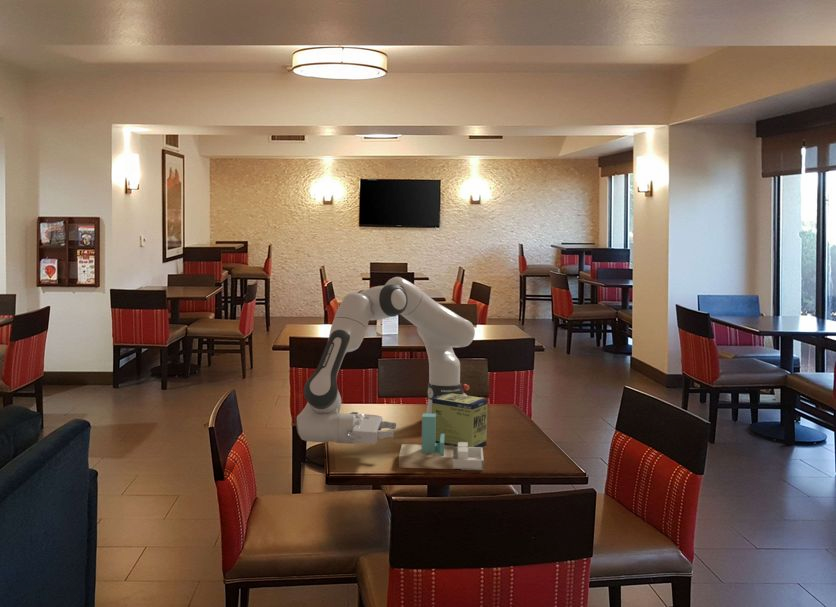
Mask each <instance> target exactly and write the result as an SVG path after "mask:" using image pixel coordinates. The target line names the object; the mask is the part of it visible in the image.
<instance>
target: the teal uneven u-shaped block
mask: <svg viewBox="0 0 836 607" xmlns="http://www.w3.org/2000/svg"><path fill="white" fill-rule="evenodd" d="M435 436H436V414H427V413H426V412H425V413H424V412H423V413H422V416H421V445H422V452H425V453H435V452H440V456H444V437H445V434H441V435H440V443H435Z"/></svg>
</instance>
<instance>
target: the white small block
mask: <svg viewBox="0 0 836 607" xmlns="http://www.w3.org/2000/svg"><path fill="white" fill-rule="evenodd" d="M458 459H468V448H467V447H458Z"/></svg>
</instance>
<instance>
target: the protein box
mask: <svg viewBox="0 0 836 607" xmlns="http://www.w3.org/2000/svg"><path fill="white" fill-rule="evenodd" d="M466 395H467V394H466ZM466 395H459V394H453V393H447V394H444V395H441V396H438V397H435V398H432V414H436V436H435V443H440V435H441V434H445V437H444V445H453V447H458V442H468V447H482V448H483V447H484V446H487V437H488V435H487V432H488V431H487V430H488V397H487V398H486V397H478V396H472V395H467V396H466Z"/></svg>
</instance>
